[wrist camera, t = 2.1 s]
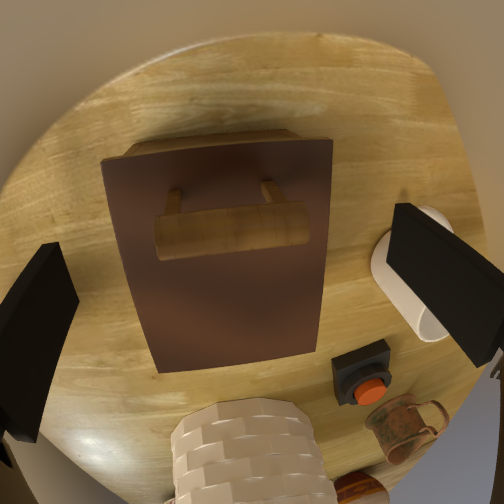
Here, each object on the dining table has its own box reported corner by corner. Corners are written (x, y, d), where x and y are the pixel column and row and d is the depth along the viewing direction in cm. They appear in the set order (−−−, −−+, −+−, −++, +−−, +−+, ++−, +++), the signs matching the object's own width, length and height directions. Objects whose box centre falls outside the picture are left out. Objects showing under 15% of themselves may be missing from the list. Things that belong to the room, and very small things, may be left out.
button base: (331, 359, 41) (341, 381, 37) (383, 338, 41) (396, 358, 38) (335, 395, 46) (343, 415, 42) (380, 377, 46) (390, 395, 43)
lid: (103, 158, 16) (59, 200, 10) (327, 137, 17) (389, 167, 12) (158, 366, 24) (157, 436, 18) (312, 344, 25) (339, 408, 20)
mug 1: (370, 194, 30) (434, 244, 21) (433, 184, 30) (499, 225, 21) (365, 291, 36) (409, 353, 27) (421, 275, 36) (469, 326, 27)
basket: (154, 406, 40) (157, 530, 24) (319, 384, 43) (363, 497, 27) (186, 468, 53) (195, 550, 36) (302, 452, 56) (327, 529, 40)
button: (353, 384, 39) (358, 394, 38) (382, 373, 39) (387, 382, 38) (353, 400, 41) (357, 409, 40) (380, 389, 42) (385, 397, 40)
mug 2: (440, 369, 50) (470, 414, 40) (398, 422, 58) (419, 463, 48) (397, 377, 47) (428, 431, 37) (355, 431, 55) (376, 478, 45)
